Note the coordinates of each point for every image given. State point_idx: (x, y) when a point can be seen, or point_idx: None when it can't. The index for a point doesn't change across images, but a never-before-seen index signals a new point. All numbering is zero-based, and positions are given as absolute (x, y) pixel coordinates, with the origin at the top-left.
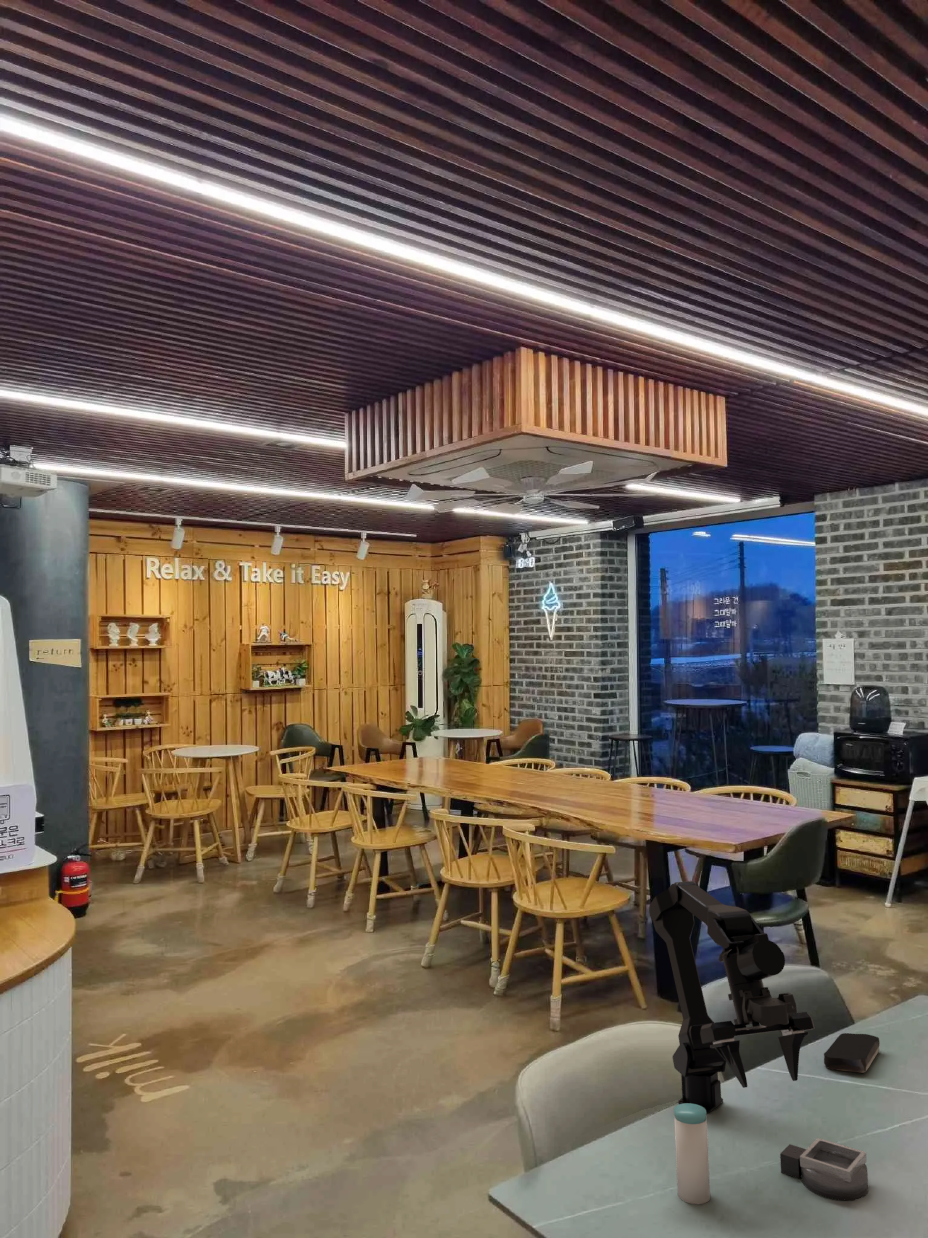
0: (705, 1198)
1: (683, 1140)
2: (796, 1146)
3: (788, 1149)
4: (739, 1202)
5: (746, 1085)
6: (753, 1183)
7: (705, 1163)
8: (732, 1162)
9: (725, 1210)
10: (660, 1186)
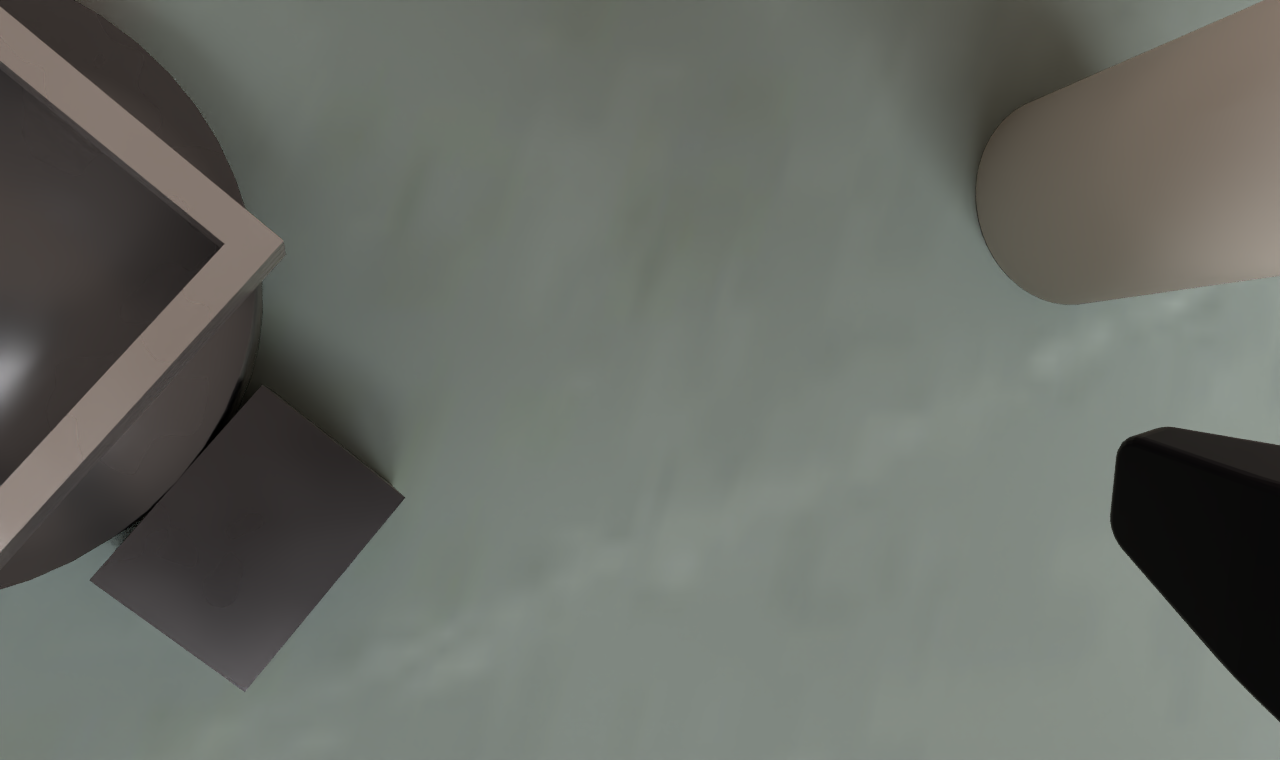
0: (1034, 101)
1: None
2: (186, 645)
3: (293, 581)
4: (811, 95)
5: (1161, 435)
6: (653, 336)
7: (1196, 36)
8: (728, 648)
9: (918, 12)
10: (1228, 325)
